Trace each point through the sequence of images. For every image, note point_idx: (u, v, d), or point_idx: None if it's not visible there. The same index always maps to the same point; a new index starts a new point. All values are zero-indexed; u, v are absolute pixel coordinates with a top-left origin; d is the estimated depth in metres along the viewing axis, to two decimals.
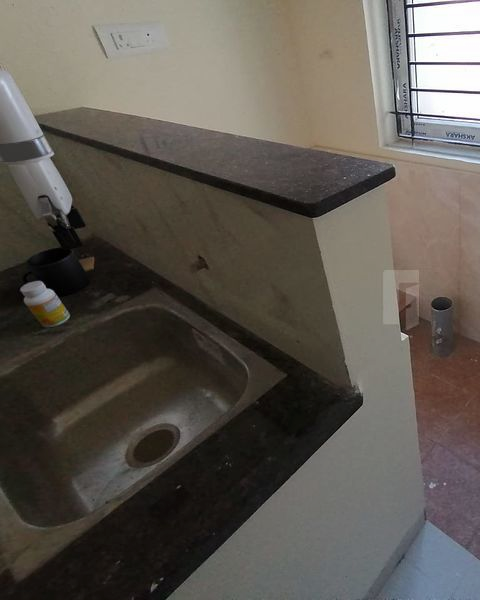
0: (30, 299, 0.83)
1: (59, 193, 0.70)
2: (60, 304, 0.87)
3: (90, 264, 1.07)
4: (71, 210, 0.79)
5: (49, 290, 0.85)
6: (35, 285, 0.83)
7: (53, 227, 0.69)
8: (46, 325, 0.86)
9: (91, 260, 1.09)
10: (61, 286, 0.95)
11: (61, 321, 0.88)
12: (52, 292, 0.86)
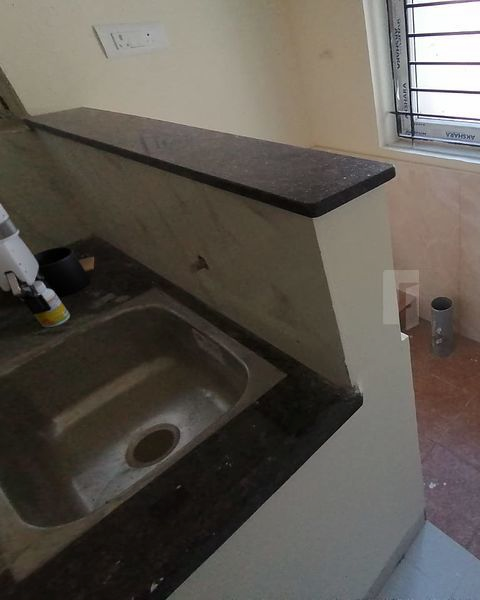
0: None
1: (23, 267, 0.78)
2: (60, 304, 0.87)
3: (90, 264, 1.07)
4: None
5: (49, 290, 0.85)
6: (35, 285, 0.83)
7: (23, 298, 0.79)
8: (46, 325, 0.86)
9: (91, 260, 1.09)
10: (61, 286, 0.95)
11: (61, 321, 0.88)
12: (52, 292, 0.86)
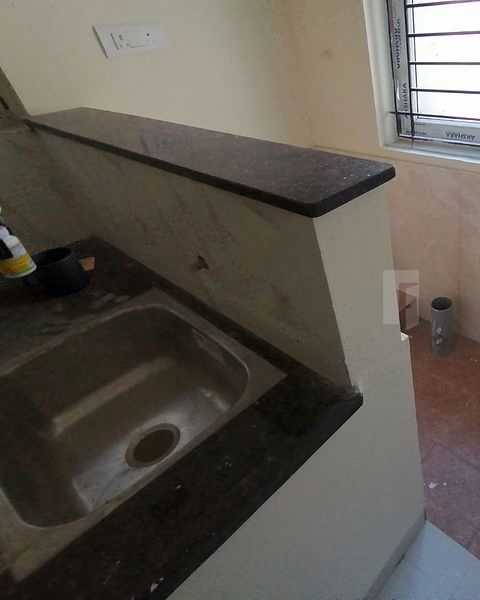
0: None
1: None
2: (25, 253, 0.80)
3: (90, 264, 1.07)
4: None
5: (12, 237, 0.78)
6: None
7: None
8: (8, 275, 0.79)
9: (91, 260, 1.09)
10: (61, 286, 0.95)
11: (25, 272, 0.80)
12: (16, 239, 0.78)
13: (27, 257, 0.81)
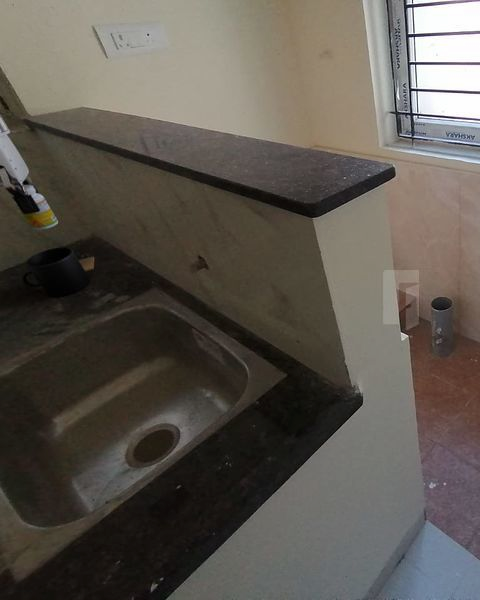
0: None
1: (14, 164, 0.85)
2: (49, 209, 0.94)
3: (90, 264, 1.07)
4: None
5: (38, 194, 0.93)
6: (25, 187, 0.90)
7: (13, 194, 0.86)
8: (36, 227, 0.93)
9: (91, 260, 1.09)
10: (61, 286, 0.95)
11: (50, 225, 0.95)
12: (41, 196, 0.93)
13: (51, 212, 0.95)
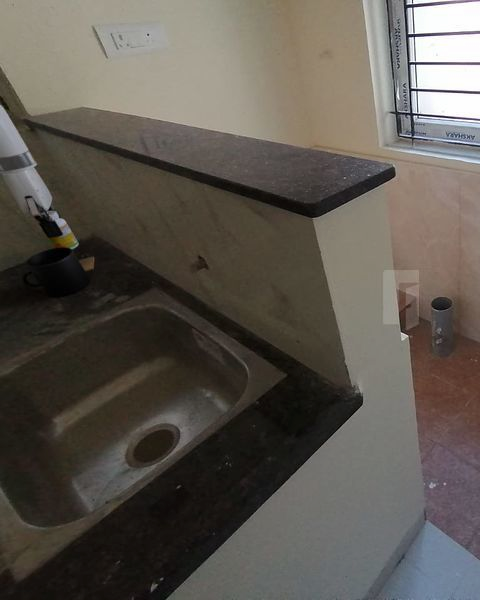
0: None
1: (40, 194, 0.92)
2: (70, 232, 1.02)
3: (90, 264, 1.07)
4: None
5: (61, 219, 1.00)
6: (50, 213, 0.98)
7: (39, 221, 0.94)
8: None
9: (91, 260, 1.09)
10: (61, 286, 0.95)
11: (71, 247, 1.02)
12: (64, 221, 1.00)
13: (72, 235, 1.02)
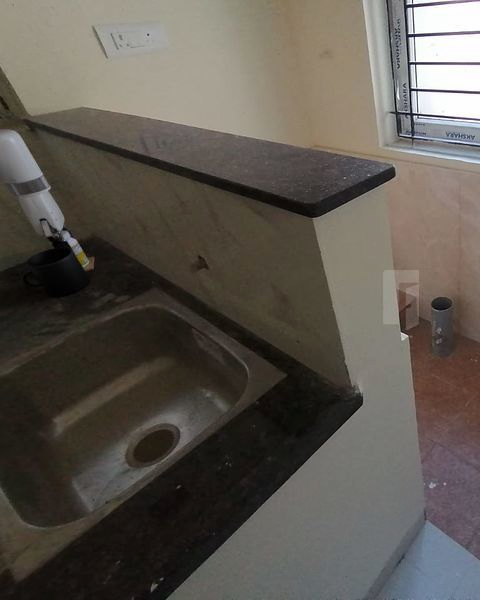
0: None
1: (54, 216, 0.96)
2: (81, 251, 1.05)
3: (90, 264, 1.07)
4: None
5: (72, 238, 1.04)
6: None
7: (52, 242, 0.97)
8: None
9: (91, 260, 1.09)
10: (61, 286, 0.95)
11: (82, 265, 1.06)
12: (75, 240, 1.04)
13: (83, 254, 1.06)
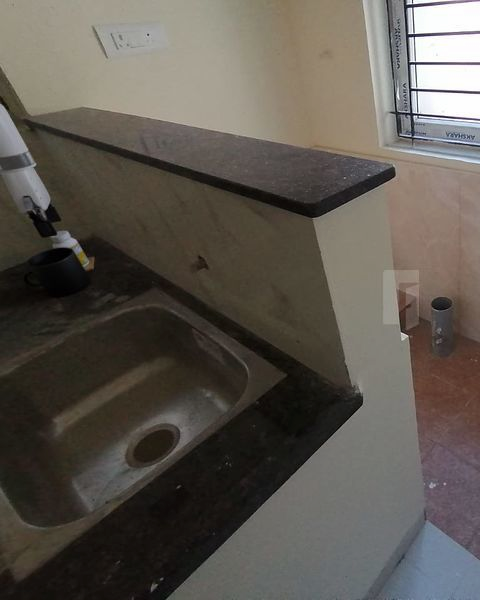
0: (57, 245, 1.01)
1: (39, 194, 0.92)
2: (81, 251, 1.05)
3: (90, 264, 1.07)
4: (49, 208, 1.01)
5: (72, 238, 1.04)
6: (62, 233, 1.01)
7: (33, 220, 0.91)
8: None
9: (91, 260, 1.09)
10: (61, 286, 0.95)
11: None
12: (75, 240, 1.04)
13: (83, 254, 1.06)
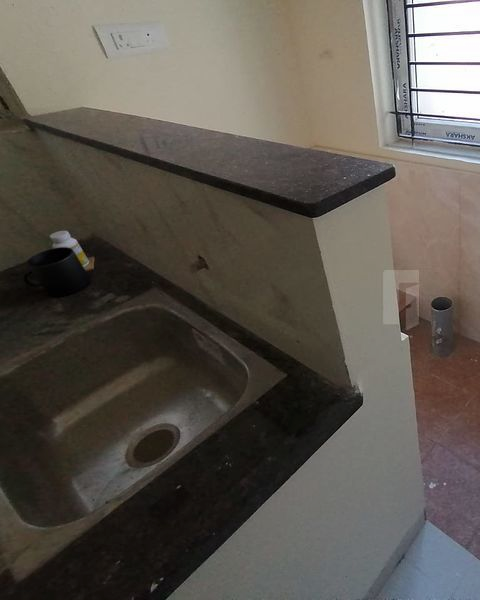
0: (57, 245, 1.01)
1: None
2: (81, 251, 1.05)
3: (90, 264, 1.07)
4: None
5: (73, 239, 1.04)
6: (62, 233, 1.01)
7: None
8: None
9: (91, 260, 1.09)
10: (61, 286, 0.95)
11: None
12: (75, 240, 1.04)
13: (83, 254, 1.06)
